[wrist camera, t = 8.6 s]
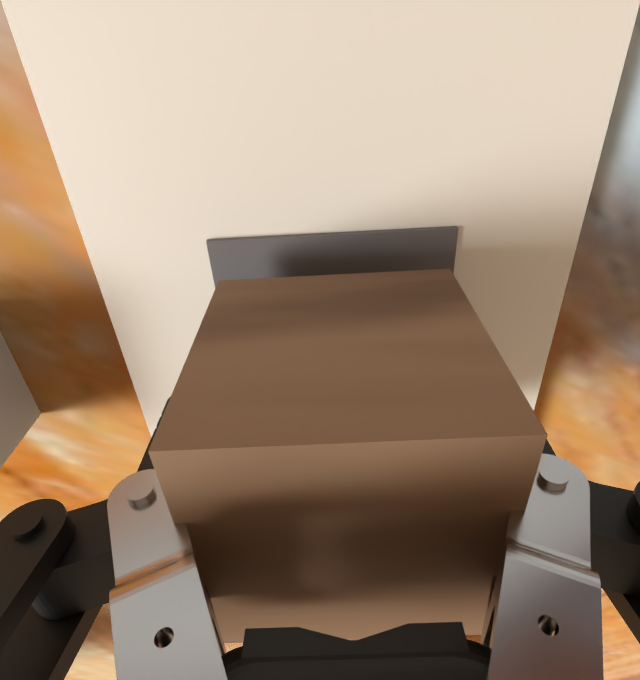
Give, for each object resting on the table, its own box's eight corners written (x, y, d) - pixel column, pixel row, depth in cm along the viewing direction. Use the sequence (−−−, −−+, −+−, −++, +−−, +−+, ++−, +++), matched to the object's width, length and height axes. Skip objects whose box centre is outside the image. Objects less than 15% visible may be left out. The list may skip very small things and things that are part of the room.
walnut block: (218, 280, 12) (148, 451, 7) (449, 268, 12) (547, 434, 7) (249, 445, 15) (216, 643, 10) (431, 437, 15) (489, 634, 10)
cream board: (10, -44, 10) (-23, -53, 9) (636, -86, 10) (672, -101, 9) (190, 515, 21) (184, 539, 20) (496, 504, 21) (505, 527, 20)
